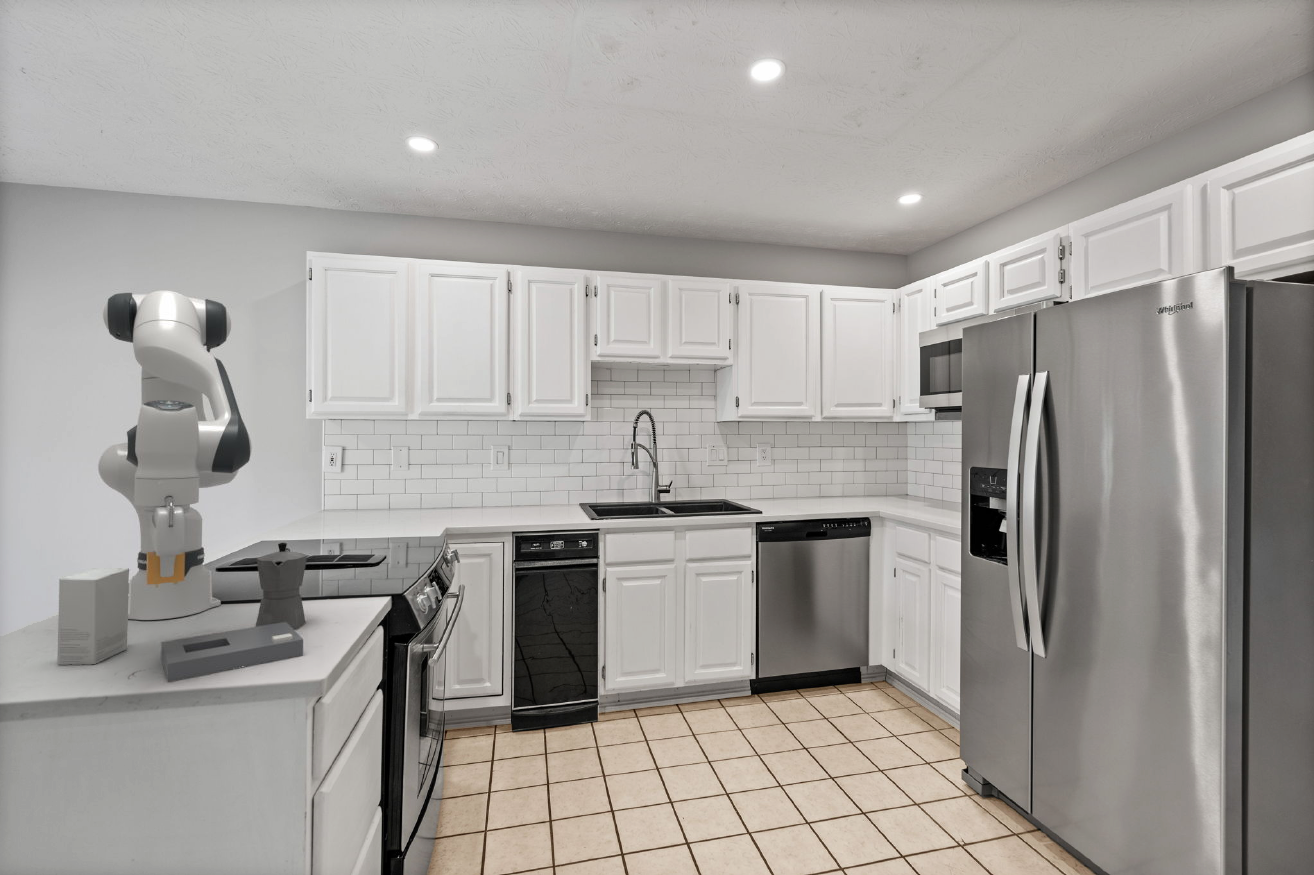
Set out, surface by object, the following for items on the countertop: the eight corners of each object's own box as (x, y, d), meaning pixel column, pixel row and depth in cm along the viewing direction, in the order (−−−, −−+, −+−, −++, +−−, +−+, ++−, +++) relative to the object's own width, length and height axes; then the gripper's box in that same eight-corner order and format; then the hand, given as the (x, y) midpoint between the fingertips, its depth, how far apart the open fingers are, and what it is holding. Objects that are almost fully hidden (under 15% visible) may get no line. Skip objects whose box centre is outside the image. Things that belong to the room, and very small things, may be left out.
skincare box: (93, 649, 117) (95, 567, 117) (131, 649, 118) (132, 567, 118) (54, 666, 109) (56, 577, 109) (94, 665, 110) (96, 577, 110)
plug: (146, 585, 108) (146, 552, 108) (182, 581, 111) (183, 549, 111) (147, 589, 105) (147, 555, 105) (184, 585, 108) (184, 552, 108)
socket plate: (160, 658, 114) (161, 638, 114) (285, 636, 127) (286, 618, 127) (167, 681, 103) (168, 660, 103) (302, 655, 117) (303, 636, 117)
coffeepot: (302, 633, 129) (304, 546, 129) (249, 638, 125) (251, 549, 125) (309, 613, 143) (311, 535, 143) (261, 617, 139) (263, 537, 139)
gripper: (195, 498, 102) (194, 582, 102) (185, 488, 118) (183, 561, 118) (146, 500, 98) (144, 588, 98) (141, 489, 114) (140, 565, 114)
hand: (165, 573), depth 108 cm, fingers closed on plug, 3 cm apart
